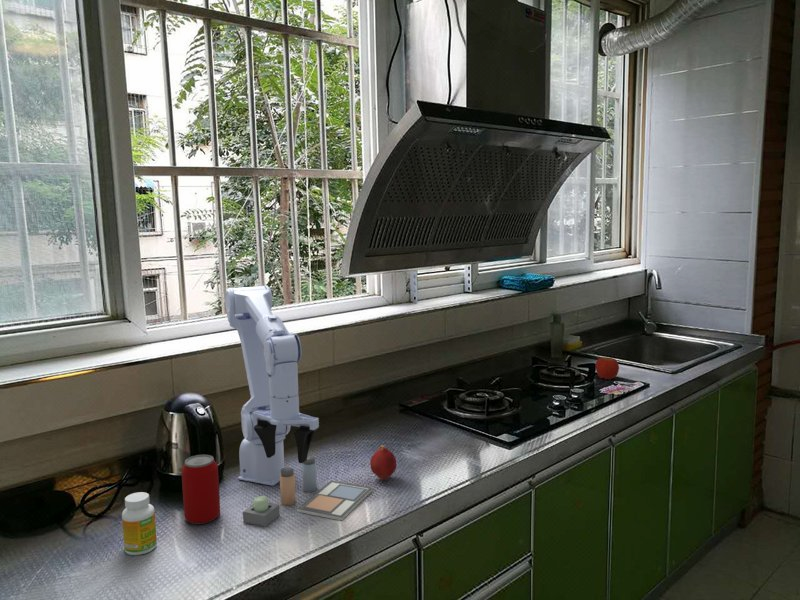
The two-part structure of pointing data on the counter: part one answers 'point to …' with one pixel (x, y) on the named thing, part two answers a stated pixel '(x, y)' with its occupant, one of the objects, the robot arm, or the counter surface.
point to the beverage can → (200, 489)
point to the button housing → (261, 515)
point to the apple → (607, 367)
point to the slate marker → (309, 474)
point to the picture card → (335, 500)
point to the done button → (261, 504)
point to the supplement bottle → (138, 524)
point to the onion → (383, 463)
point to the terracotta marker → (287, 486)
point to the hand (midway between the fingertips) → (286, 458)
